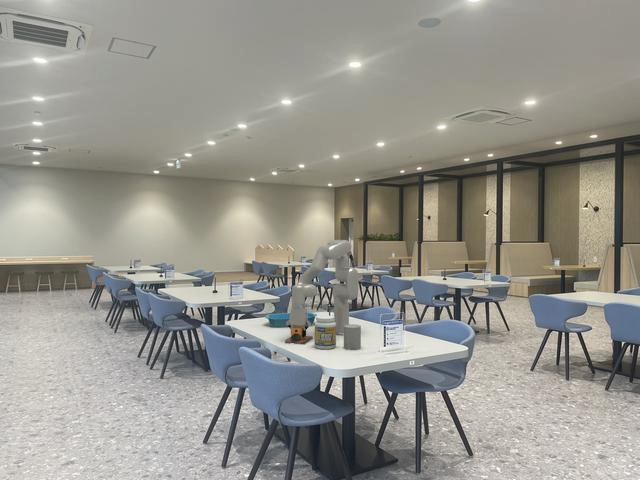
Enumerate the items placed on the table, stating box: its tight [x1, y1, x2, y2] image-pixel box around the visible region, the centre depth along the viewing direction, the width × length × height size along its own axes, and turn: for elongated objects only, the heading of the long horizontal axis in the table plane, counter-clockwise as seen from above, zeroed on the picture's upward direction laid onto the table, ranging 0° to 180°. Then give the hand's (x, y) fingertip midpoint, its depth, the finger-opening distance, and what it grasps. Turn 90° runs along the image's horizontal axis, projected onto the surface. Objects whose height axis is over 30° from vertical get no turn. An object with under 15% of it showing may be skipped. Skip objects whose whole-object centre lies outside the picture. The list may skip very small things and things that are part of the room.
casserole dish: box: [264, 311, 318, 328], centre depth 333 cm, size 37×22×7 cm, turn 103°
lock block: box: [290, 326, 307, 340], centre depth 280 cm, size 6×8×7 cm
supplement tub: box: [313, 315, 337, 350], centre depth 266 cm, size 12×12×17 cm
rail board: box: [284, 334, 314, 345], centre depth 282 cm, size 12×16×4 cm
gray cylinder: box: [343, 323, 362, 351], centre depth 264 cm, size 10×10×12 cm
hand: (298, 336), depth 280 cm, fingers closed on lock block, 6 cm apart
